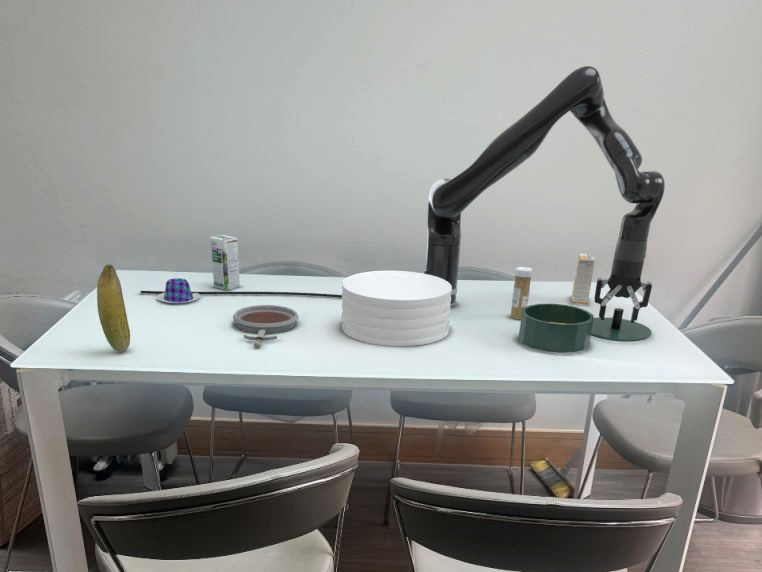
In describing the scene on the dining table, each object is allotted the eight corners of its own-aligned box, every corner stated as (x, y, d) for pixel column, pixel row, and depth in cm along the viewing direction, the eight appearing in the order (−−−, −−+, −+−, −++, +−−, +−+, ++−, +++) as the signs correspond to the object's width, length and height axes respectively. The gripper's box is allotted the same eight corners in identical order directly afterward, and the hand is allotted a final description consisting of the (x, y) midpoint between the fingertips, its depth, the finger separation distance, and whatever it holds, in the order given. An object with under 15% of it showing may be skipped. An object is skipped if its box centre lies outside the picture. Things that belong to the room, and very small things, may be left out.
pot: (516, 350, 189) (520, 320, 185) (520, 328, 204) (524, 300, 200) (589, 357, 186) (594, 327, 182) (587, 335, 201) (592, 307, 197)
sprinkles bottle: (527, 320, 210) (534, 270, 203) (511, 319, 210) (517, 270, 203) (524, 315, 214) (530, 266, 207) (508, 314, 214) (514, 265, 207)
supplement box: (587, 305, 224) (595, 260, 217) (571, 304, 225) (578, 258, 218) (587, 298, 231) (594, 253, 224) (571, 296, 232) (578, 252, 225)
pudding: (206, 295, 221) (205, 276, 218) (190, 306, 211) (188, 287, 208) (167, 291, 222) (165, 273, 220) (149, 303, 212) (147, 284, 209)
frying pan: (220, 338, 182) (237, 302, 206) (221, 350, 184) (238, 313, 207) (292, 340, 183) (300, 304, 206) (292, 352, 184) (301, 314, 208)
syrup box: (213, 287, 228) (208, 236, 220) (227, 283, 232) (223, 233, 225) (226, 290, 225) (223, 239, 218) (241, 286, 229) (237, 236, 222)
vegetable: (124, 357, 176) (111, 269, 165) (99, 355, 177) (84, 267, 166) (136, 348, 181) (124, 262, 170) (111, 346, 182) (98, 260, 171)
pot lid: (579, 339, 198) (583, 316, 194) (578, 318, 213) (582, 296, 210) (653, 346, 195) (659, 323, 192) (647, 324, 210) (652, 302, 207)
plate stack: (324, 335, 193) (323, 290, 187) (366, 307, 216) (367, 265, 210) (428, 352, 185) (431, 306, 179) (461, 321, 207) (465, 278, 201)
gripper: (657, 255, 196) (643, 318, 204) (600, 251, 198) (589, 314, 207) (660, 262, 190) (646, 327, 198) (601, 257, 192) (589, 322, 200)
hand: (617, 320), depth 202 cm, fingers open, 7 cm apart
